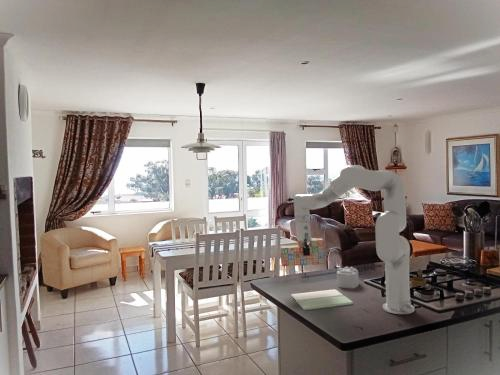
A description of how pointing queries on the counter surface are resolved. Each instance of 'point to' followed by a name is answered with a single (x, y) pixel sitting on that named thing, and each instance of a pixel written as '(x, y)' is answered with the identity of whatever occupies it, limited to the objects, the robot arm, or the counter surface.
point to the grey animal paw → (347, 277)
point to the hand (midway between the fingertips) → (304, 253)
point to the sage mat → (325, 302)
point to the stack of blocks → (295, 256)
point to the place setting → (418, 279)
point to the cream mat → (316, 295)
